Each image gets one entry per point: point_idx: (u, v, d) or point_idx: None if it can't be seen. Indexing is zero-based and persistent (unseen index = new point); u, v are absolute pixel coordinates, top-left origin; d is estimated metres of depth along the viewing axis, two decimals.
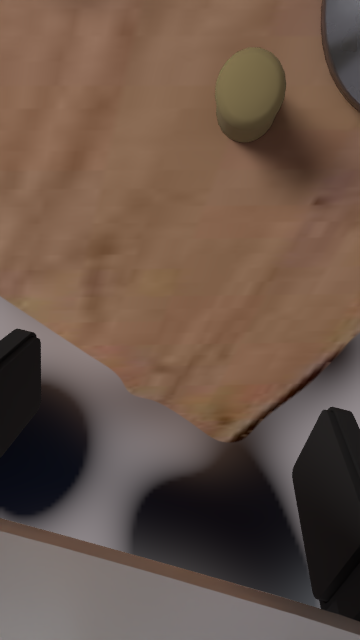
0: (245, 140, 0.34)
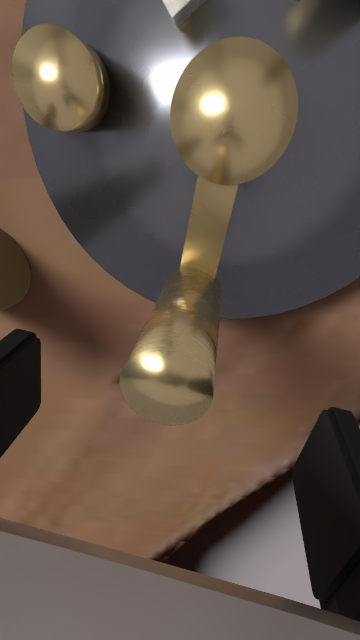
0: None
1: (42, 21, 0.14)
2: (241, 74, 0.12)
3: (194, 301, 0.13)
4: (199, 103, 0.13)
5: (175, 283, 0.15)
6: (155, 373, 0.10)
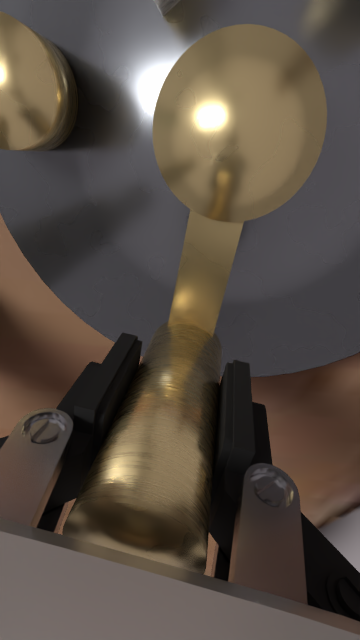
0: None
1: None
2: (249, 76, 0.09)
3: (182, 386, 0.09)
4: (191, 115, 0.10)
5: (160, 349, 0.11)
6: (115, 530, 0.07)
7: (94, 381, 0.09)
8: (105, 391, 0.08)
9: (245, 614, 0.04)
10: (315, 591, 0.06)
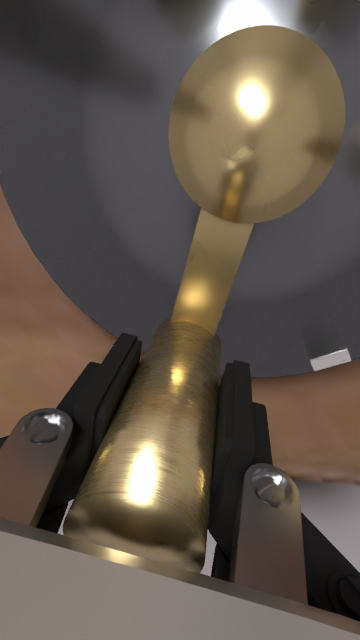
0: None
1: None
2: (270, 79, 0.09)
3: (185, 384, 0.09)
4: (209, 113, 0.10)
5: (162, 345, 0.11)
6: (117, 526, 0.07)
7: (94, 381, 0.09)
8: (105, 391, 0.08)
9: (245, 614, 0.04)
10: (315, 591, 0.06)
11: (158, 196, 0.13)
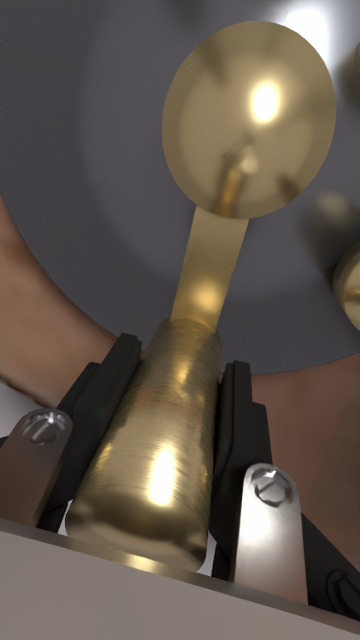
0: None
1: None
2: (260, 74, 0.09)
3: (185, 380, 0.09)
4: (201, 111, 0.10)
5: (162, 343, 0.11)
6: (118, 520, 0.07)
7: (94, 381, 0.09)
8: (105, 391, 0.08)
9: (245, 614, 0.04)
10: (315, 591, 0.06)
11: (136, 122, 0.12)
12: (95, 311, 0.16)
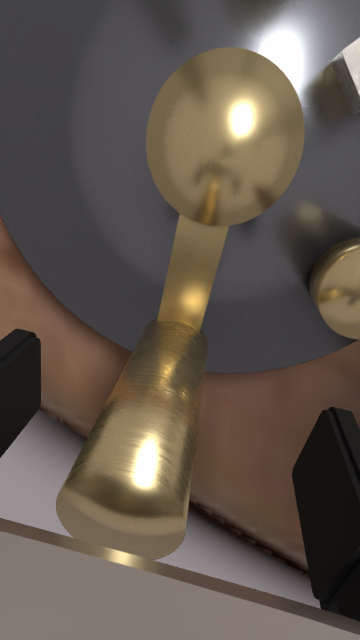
0: None
1: None
2: (234, 94, 0.10)
3: (168, 376, 0.10)
4: (182, 127, 0.10)
5: (149, 342, 0.12)
6: (104, 500, 0.07)
7: None
8: None
9: (245, 614, 0.04)
10: None
11: (123, 135, 0.13)
12: (85, 313, 0.16)
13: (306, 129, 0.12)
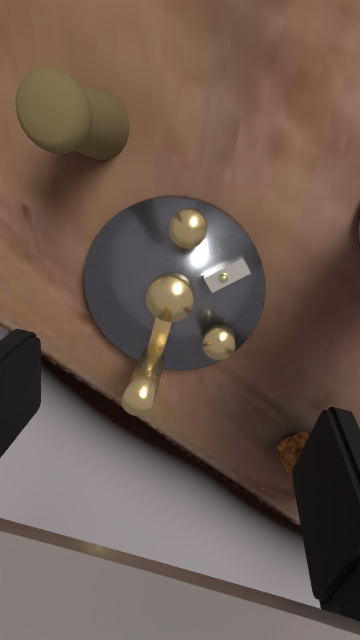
0: None
1: (214, 218, 0.33)
2: (172, 288, 0.34)
3: (150, 370, 0.34)
4: (157, 294, 0.35)
5: (144, 358, 0.36)
6: (134, 398, 0.31)
7: None
8: None
9: (245, 614, 0.04)
10: None
11: (138, 286, 0.37)
12: (118, 344, 0.40)
13: (198, 291, 0.36)
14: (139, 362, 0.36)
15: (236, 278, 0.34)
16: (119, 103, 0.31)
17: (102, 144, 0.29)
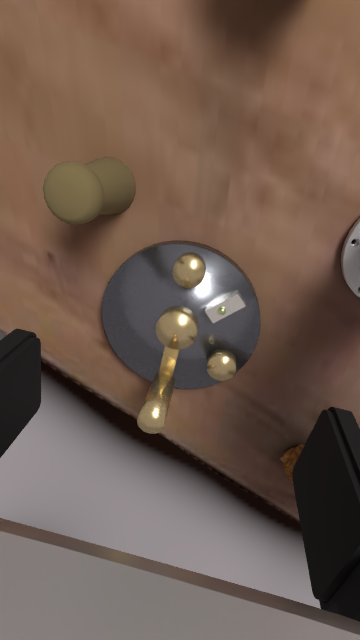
0: None
1: (211, 260, 0.37)
2: (178, 321, 0.39)
3: (161, 392, 0.39)
4: (165, 326, 0.40)
5: (156, 382, 0.41)
6: (147, 418, 0.37)
7: None
8: None
9: (245, 614, 0.04)
10: None
11: (148, 318, 0.42)
12: (133, 367, 0.46)
13: (201, 321, 0.41)
14: (152, 385, 0.41)
15: (233, 310, 0.38)
16: (126, 168, 0.36)
17: (113, 207, 0.34)
